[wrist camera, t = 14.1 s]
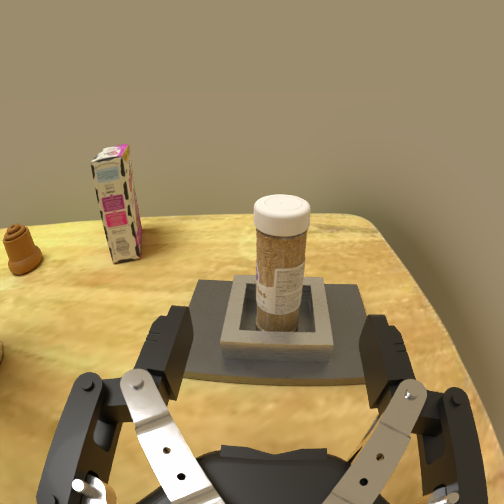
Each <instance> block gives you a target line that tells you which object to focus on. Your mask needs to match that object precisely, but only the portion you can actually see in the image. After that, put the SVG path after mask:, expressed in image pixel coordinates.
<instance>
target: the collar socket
mask: <svg viewBox="0 0 504 504" xmlns="http://www.w3.org/2000/svg"><path fill="white" fill-rule="evenodd" d="M189 310H190V315H191V320H192V325H193V332H194V335H193V343H192V346H191V350H190V353H189V357H188V360H187V364H186V368H185V371H184V375H183V378H191V379H199V380H208V381H217V382H229V383H241V384H258V385H283V386H329V385H355V384H366V383H365V377H364V372H363V367H362V362H361V357H360V352H359V338H360V335H361V332H362V329H363V327H364V324H365V321H366V318H367V316H366V313H365V309H364V306H363V303H362V299H361V296H360V293H359V289H358V286H357V285H354V284H324V282H323V277H304V278H303V287H302V295H301V303H300V306H299V314H298V319H299V325H298V328H297V329H296V331H295V332H272V331H259V329H258V328H257V326H256V316H257V301H256V275H234V280H233V281H218V280H198V283H197V285H196V288H195V291H194V294H193V296H192V299H191V302H190V305H189Z"/></svg>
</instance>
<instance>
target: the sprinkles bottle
mask: <svg viewBox="0 0 504 504" xmlns="http://www.w3.org/2000/svg"><path fill="white" fill-rule="evenodd" d="M254 225H255V227H256V231H257V234H256V235H257V259H256V301H257V316H256V326H257V328H258V329H259V331H272V332H295V331H296V329H297V328H298V325H299V319H298V314H299V306H300V303H301V295H302V287H303V278H304V267H305V248H306V236H307V230H308V228H309V225H310V205H309V204H308V202H307V201H305V200H304V199H301V198H299V197H296V196H291V195H282V194H280V195H269V196H265V197H262V198H260V199H259V200H257V201H256V203H255V205H254Z"/></svg>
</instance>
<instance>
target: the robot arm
mask: <svg viewBox="0 0 504 504" xmlns="http://www.w3.org/2000/svg"><path fill="white" fill-rule="evenodd" d="M193 335H194V332H193V325H192V320H191V315H190V310H189V307H185V306H174V305H172V306H171V308H170V310H169V312H168V315H167V316H159V317H158V318H157V319H156V320H155V321H154V322H153V324H152V326H151V328H150V331H149V334H148V335H147V338H146V341H145V343H144V345H143V347H142V350H141V352H140V355H139V357H138V360H137V362H136V365H135V367H134V369H133V370H130V371H128V372H126V373H125V374H124V375H123V377H121V378H115V379H103V380H102V379H101V378H100V376H99V375H97V374H96V373H92V372H87V373H84V374H82V375H80V376H79V377H78V378H77V379H76V381H75V382H74V385H73V387H72V390H71V392H70V395H69V397H68V400H67V402H66V405H65V407H64V410H63V413H62V415H61V418H60V421H59V423H58V426H57V429H56V432H55V435H54V438H53V441H52V444H51V447H50V450H49V453H48V456H47V459H46V462H45V466H44V469H43V473H42V476H41V480H40V483H39V487H38V491H37V496H36V500H37V504H116V494H115V492H114V490H113V488H112V487H111V486H109V485H108V480H109V475H110V471H111V467H112V462H113V458H114V454H115V450H116V446H117V442H118V438H119V434H120V431H121V427H122V423H123V422H134V423H135V426H136V428H135V431H136V433H137V436H138V438H139V440H140V443H141V445H142V447H143V449H144V451H145V453H146V456H147V458H148V460H149V462H150V464H151V466H152V468H153V470H154V472H155V474H156V476H157V477H158V479H159V481H160V483H161V486H160V487H158V488H157V489H156V490H154V491H153V492H152V493H150V494H149V495H147V496H146V497H145V498H143V499H142V500H140V501H139V502H137V503H136V504H390V503H389V502H387V501H386V500H385V499H384V498H383V497H382V496H381V495H380V494H379V493H380V492H381V490H382V489H383V487H384V486H385V484H386V483H387V481H388V479H389V478H390V476H391V474H392V473H393V471H394V469H395V468H396V466H397V464H398V462H399V461H400V459H401V457H402V455H403V453H404V452H405V450H406V448H407V446H408V444H409V442H410V439H411V437H409V436H410V433H414V434H417V440H418V448H419V456H420V466H421V476H422V490H423V497H421V498H420V499H419V500H418V502H417V503H416V504H488V496H487V487H486V479H485V472H484V465H483V459H482V454H481V449H480V444H479V439H478V434H477V430H476V426H475V422H474V418H473V414H472V410H471V406H470V402H469V399H468V396H467V394H466V393H465V392H464V391H463V390H462V389H460V388H457V387H451V388H449V389H447V390H446V391H445V393H439V392H433V391H429V390H426V388H425V387H424V385H423V384H422V383H421V382H419V381H417V380H416V379H415V376H414V373H413V369H412V366H411V363H410V360H409V357H408V354H407V352H406V347H405V345H404V342H403V339H402V336H401V333H400V332H399V331H398V330H397V329H396V327H395V326H389V325H388V322H387V319H386V317H385V315H368V316H367V318H366V321H365V324H364V327H363V329H362V332H361V335H360V338H359V352H360V357H361V362H362V367H363V372H364V377H365V383H366V388H367V394H368V400H369V406H370V409H373V408H378V412H379V414H378V415H377V417H376V419H375V420H374V422H373V423H372V425H371V427H370V428H369V430H368V431H367V433H366V434H365V436H364V437H363V439H362V440H361V442H360V443H359V445H358V446H357V447H356V449H355V450H354V451H353V453H352V454H351V455H350V456H349V458H348V459H347V460H346V461H345V460H343V459H341V458H339V457H336V456H333V455H330V454H327V448H322V449H299V450H295V451H291V452H286V453H281V454H276V455H273V454H269V453H265V452H262V451H258V450H255V449H251V448H248V447H237V446H227V445H221V450H219V451H213V452H209V453H206V454H204V455H201V456H199V457H198V458H196V459H195V457H194V456H193V454H192V452H191V451H190V449H189V447H188V446H187V444H186V442H185V440H184V439H183V437H182V435H181V433H180V432H179V430H178V428H177V426H176V424H175V422H174V421H173V419H172V417H171V415H170V413H169V411H168V409H167V405H168V401H169V400H175V401H177V397H178V393H179V389H180V386H181V382H182V378H183V375H184V371H185V368H186V364H187V360H188V357H189V353H190V350H191V346H192V343H193ZM2 353H3V348H2V344H1V342H0V362H1V359H2Z"/></svg>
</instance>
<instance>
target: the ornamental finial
mask: <svg viewBox="0 0 504 504" xmlns="http://www.w3.org/2000/svg"><path fill="white" fill-rule="evenodd" d="M3 243H4V246H5V249H6V252H7V254H8V257H9V262H8V266H9V269H10V271H11V272H12V273H14V274H16V275H22V274H25V273H28V272H30V271H31V270H33V269H34V268H35V267H37V266H38V264H39V263H40V261H41V258H42V253H41V250H40V249H39V248H38V247H37V246H35V244H34V242H33V240H32V237H31V234H30V232H29V229H28V227H25V226H23V225H19V224H14V225H12V226H10V227H9V228H8V229H7V232H6V234H5V235H4V239H3Z"/></svg>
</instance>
